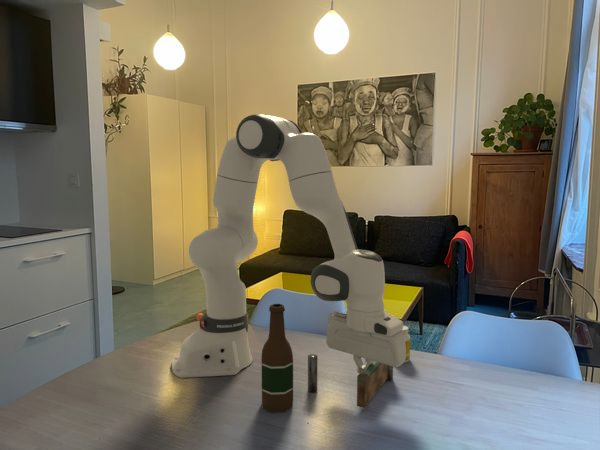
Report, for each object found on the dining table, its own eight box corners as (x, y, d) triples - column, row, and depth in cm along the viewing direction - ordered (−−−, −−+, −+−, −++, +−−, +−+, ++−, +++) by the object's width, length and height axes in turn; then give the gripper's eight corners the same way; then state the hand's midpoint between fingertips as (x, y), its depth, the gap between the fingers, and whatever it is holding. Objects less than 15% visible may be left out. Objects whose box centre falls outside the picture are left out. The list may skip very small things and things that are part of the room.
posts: (389, 375, 123) (390, 339, 121) (395, 380, 120) (396, 343, 118) (305, 388, 115) (305, 350, 114) (310, 394, 112) (310, 355, 111)
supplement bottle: (387, 358, 134) (387, 326, 132) (398, 354, 137) (399, 323, 136) (401, 364, 129) (402, 332, 128) (413, 359, 133) (414, 327, 132)
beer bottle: (268, 417, 102) (268, 312, 99) (255, 401, 109) (254, 303, 106) (299, 408, 105) (300, 307, 103) (285, 394, 112) (284, 298, 109)
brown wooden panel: (380, 376, 119) (381, 350, 118) (388, 378, 118) (388, 351, 117) (356, 406, 104) (357, 375, 103) (365, 408, 103) (365, 377, 102)
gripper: (321, 312, 113) (320, 366, 115) (397, 331, 101) (395, 391, 102) (335, 306, 118) (334, 358, 120) (410, 323, 106) (407, 380, 107)
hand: (363, 373), depth 111 cm, fingers closed
